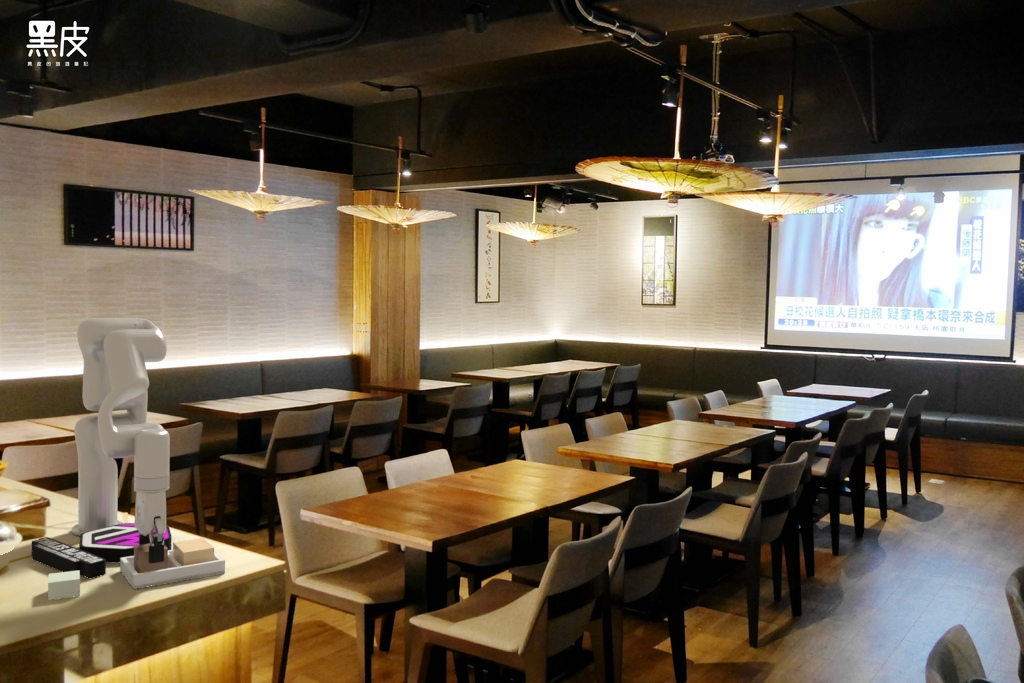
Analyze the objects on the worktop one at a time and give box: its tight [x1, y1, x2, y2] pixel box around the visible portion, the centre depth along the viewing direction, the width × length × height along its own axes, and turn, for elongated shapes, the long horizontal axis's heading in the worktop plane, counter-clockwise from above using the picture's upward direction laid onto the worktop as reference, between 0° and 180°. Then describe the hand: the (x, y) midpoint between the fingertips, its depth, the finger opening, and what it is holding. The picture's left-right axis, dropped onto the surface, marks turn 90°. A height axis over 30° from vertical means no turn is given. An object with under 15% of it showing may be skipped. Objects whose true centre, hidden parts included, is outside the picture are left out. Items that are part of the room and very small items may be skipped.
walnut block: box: [134, 543, 168, 573], centre depth 193 cm, size 6×6×6 cm
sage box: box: [47, 570, 81, 601], centre depth 181 cm, size 6×6×4 cm
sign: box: [31, 522, 172, 579], centre depth 208 cm, size 27×4×30 cm
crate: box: [119, 537, 226, 590], centre depth 196 cm, size 14×20×6 cm
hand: (151, 556), depth 193 cm, fingers open, 8 cm apart
